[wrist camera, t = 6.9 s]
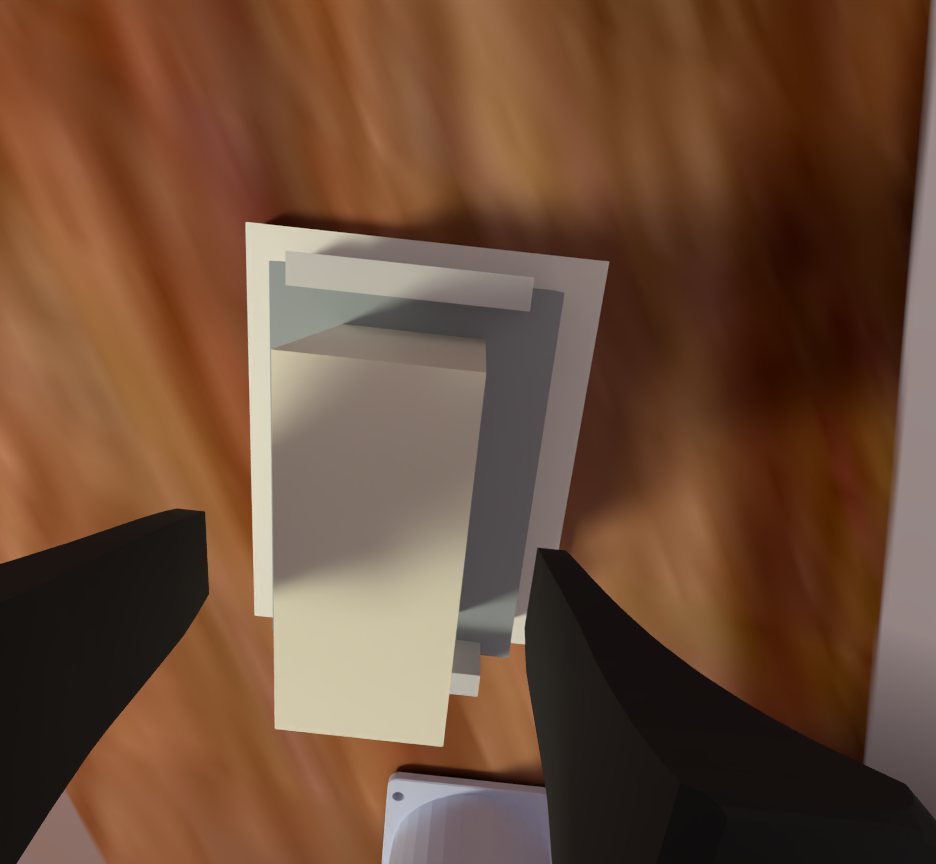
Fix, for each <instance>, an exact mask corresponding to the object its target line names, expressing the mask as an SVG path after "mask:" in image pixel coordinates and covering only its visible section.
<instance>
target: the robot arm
mask: <svg viewBox="0 0 936 864" xmlns="http://www.w3.org/2000/svg"><path fill="white" fill-rule="evenodd" d="M208 595H209V582H208V562H207V543H206V523H205V512H204V511H195V510H186V509H173V510H168V511H164V512H160V513H157V514H153V515H150V516H147V517H143V518H140V519H137V520H134V521H131V522H128V523H125V524H122V525H119V526H117V527H114V528H111V529H108V530H105V531H102V532H99V533H96V534H93V535H90V536H87V537H84V538H81V539H78V540H76V541H73V542H70V543H66V544H63V545H60V546H57V547H54V548H50V549H47V550H44V551H41V552H38V553H35V554H31V555H28V556H25V557H22V558H19V559H15V560H12V561H9V562H5V563H2V564H0V864H17V862H18V860H19V859H20V857H21V855H22V854H23V853H24V851H25V849H26V848H27V846H28V845H29V843H30V842H31V840H32V839H33V837H34V835H35V834H36V832H37V831H38V829H39V828H40V826H41V824H42V823H43V821H44V820H45V818H46V817H47V815H48V813H49V811H50V810H51V809H52V807H53V806H54V804H55V803H56V801H57V800H58V798H59V797H60V795H61V794H62V793H63V791H64V790H65V788H66V787H67V785H68V784H69V782H70V781H71V779H72V778H73V776H74V775H75V773H76V772H77V770H78V769H79V767H80V766H81V764H82V763H83V762H84V760H85V759H86V757H87V756H88V754H89V753H90V751H91V750H92V749H93V747H94V746H95V745H96V744H97V742H98V741H99V740H100V738H101V737H102V736H103V734H104V733H105V732H106V730H107V729H108V728H109V727H110V725H111V724H112V723H113V722H114V721H115V719H116V718H117V717H118V716H119V714H120V713H121V712H122V711H123V710H124V708H125V707H126V706H127V705H128V703H129V702H130V701H131V700H132V699H133V697H134V696H135V695H136V694H137V692H138V691H139V690H140V689H141V688H142V686H143V685H144V684H145V683H146V682H147V680H148V679H149V678H150V677H151V675H152V674H153V673H154V672H155V671H156V669H157V668H158V667H159V666H160V664H161V663H162V662H163V661H164V659H165V658H166V657H167V656H168V654H169V653H170V652H171V651H172V649H173V648H174V647H175V646H176V644H177V643H178V642H179V641H180V639H181V638H182V637H183V636H184V634H185V633H186V631H187V629H188V628H189V626H190V625H191V623H192V622H193V620H194V618H195V617H196V615H197V614H198V612H199V610H200V608H201V607H202V605H203V603H204V602H205V600H206V598H207V596H208ZM524 629H525V655H526V672H527V678H528V685H529V691H530V697H531V703H532V709H533V715H534V721H535V726H536V732H537V738H538V744H539V750H540V756H541V762H542V767H543V773H544V780H545V787H538V786H528V785H519V784H510V783H500V782H491V781H481V780H472V779H463V778H453V777H444V776H434V775H425V774H415V773H406V772H396V773H393V774H392V775H391V776H390V778H389V781H388V788H387V801H386V814H385V827H384V840H383V854H382V864H936V820H935V819H934V818H933V816H932V815H931V814H930V813H929V812H928V810H927V809H926V808H925V807H924V806H923V805H922V803H921V802H920V801H919V800H918V798H917V797H916V796H915V795H914V794H913V793H912V791H911V790H910V789H909V788H908V786H906V784H904V783H902V782H900V781H898V780H895V779H893V778H891V777H889V776H887V775H885V774H883V773H881V772H879V771H876V770H874V769H872V768H870V767H868V766H866V765H864V764H862V763H859V762H857V761H855V760H853V759H851V758H849V757H847V756H845V755H842V754H840V753H838V752H836V751H834V750H832V749H830V748H827V747H825V746H823V745H821V744H819V743H817V742H815V741H814V740H812V739H810V738H808V737H806V736H804V735H802V734H801V733H799V732H797V731H795V730H793V729H791V728H789V727H788V726H786V725H784V724H782V723H780V722H778V721H777V720H775V719H773V718H771V717H769V716H768V715H766V714H764V713H763V712H761V711H759V710H757V709H756V708H754V707H752V706H751V705H749V704H747V703H746V702H744V701H742V700H741V699H739V698H738V697H736V696H735V695H733V694H731V693H730V692H728V691H727V690H725V689H724V688H722V687H721V686H719V685H717V684H716V683H714V682H713V681H711V680H710V679H708V678H707V677H705V676H704V675H703V674H701V673H700V672H698V671H697V670H695V669H694V668H692V667H691V666H690V665H688V664H687V663H686V662H685V661H683V660H682V659H681V658H679V657H678V656H677V655H675V654H674V653H673V652H671V651H670V650H669V649H667V648H666V647H665V646H663V645H662V644H661V643H660V642H659V641H657V640H656V639H655V638H654V637H653V636H651V635H650V634H649V633H648V632H647V631H646V630H645V629H643V628H642V627H641V626H640V625H639V624H638V623H637V622H636V621H634V620H633V619H632V618H631V617H630V616H629V615H628V614H627V613H626V612H625V611H624V610H623V609H622V608H620V607H619V606H618V605H617V604H616V603H615V602H614V601H613V600H612V599H611V598H610V597H609V596H608V595H607V594H606V593H605V592H604V591H603V590H602V588H601V587H600V586H599V585H598V584H597V583H596V582H595V581H594V580H593V579H592V578H591V577H590V576H589V575H588V574H587V573H586V571H585V570H584V569H583V568H582V567H581V566H580V565H579V564H578V563H577V562H576V561H575V560H574V558H573V557H572V556H571V555H570V554H569V553H568V552H567V551H565V550H556V549H547V548H538V547H537V553H536V559H535V565H534V571H533V578H532V584H531V590H530V596H529V603H528V609H527V615H526V621H525V627H524Z"/></svg>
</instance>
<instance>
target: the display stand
mask: <svg viewBox="0 0 936 864" xmlns="http://www.w3.org/2000/svg"><path fill="white" fill-rule="evenodd" d="M246 265H247V308H248V351H249V394H250V437H251V480H252V523H253V566H254V609H255V615H256V616H265V617H273V633H274V598H273V496H272V394H271V349H274V348H277V347H279V346H282V345H285V344H288V343H291V342H293V341H296V340H299V339H302V338H304V337H307V336H310V335H313V334H316V333H318V332H321V331H324V330H327V329H330V328H332V327H335V326H338V325H341V324H347V325H356V326H365V327H374V328H384V329H393V330H402V331H411V332H420V333H430V334H439V335H448V336H457V337H466V338H476V339H485V340H486V380H485V389H484V397H483V406H482V415H481V423H480V432H479V440H478V449H477V458H476V466H475V475H474V484H473V492H472V501H471V509H470V518H469V527H468V535H467V544H466V553H465V561H464V570H463V578H462V587H461V596H460V604H459V613H458V622H457V630H456V639H455V647H454V656H453V665H452V673H451V682H450V690H449V694H457V695H467V696H476V697H477V696H478V688H479V681H480V655H486V656H495V657H505V658H508V656H509V650H510V643H517V644H525V629H524V627H525V621H526V615H527V609H528V603H529V596H530V590H531V584H532V578H533V571H534V565H535V559H536V553H537V547H538V548H547V549H556V550H559V545H560V539H561V534H562V528H563V522H564V517H565V511H566V505H567V499H568V494H569V488H570V482H571V477H572V471H573V465H574V460H575V454H576V448H577V443H578V437H579V431H580V426H581V420H582V414H583V409H584V403H585V397H586V392H587V386H588V380H589V375H590V369H591V363H592V358H593V352H594V346H595V341H596V335H597V329H598V323H599V318H600V312H601V306H602V301H603V295H604V289H605V284H606V278H607V272H608V267H609V261H600V260H591V259H581V258H572V257H563V256H554V255H545V254H536V253H526V252H517V251H508V250H499V249H490V248H480V247H471V246H462V245H453V244H444V243H434V242H425V241H416V240H407V239H398V238H388V237H379V236H370V235H361V234H352V233H342V232H333V231H324V230H315V229H306V228H296V227H287V226H278V225H269V224H260V223H250V222H246Z"/></svg>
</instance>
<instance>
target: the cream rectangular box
mask: <svg viewBox="0 0 936 864" xmlns="http://www.w3.org/2000/svg"><path fill="white" fill-rule="evenodd" d="M485 380H486V340H485V339H476V338H466V337H457V336H448V335H439V334H430V333H420V332H411V331H402V330H393V329H384V328H374V327H365V326H356V325H347V324H341V325H338V326H335V327H332V328H330V329H327V330H324V331H321V332H318V333H316V334H313V335H310V336H307V337H304V338H302V339H299V340H296V341H293V342H291V343H288V344H285V345H282V346H279V347H277V348H274V349H271V394H272V496H273V598H274V699H275V729H281V730H290V731H299V732H309V733H318V734H327V735H337V736H346V737H355V738H365V739H374V740H384V741H393V742H402V743H412V744H421V745H430V746H440V747H443V742H444V734H445V725H446V716H447V708H448V699H449V690H450V682H451V673H452V665H453V656H454V647H455V639H456V630H457V622H458V613H459V604H460V596H461V587H462V578H463V570H464V561H465V553H466V544H467V535H468V527H469V518H470V509H471V501H472V492H473V484H474V475H475V466H476V458H477V449H478V440H479V432H480V423H481V415H482V406H483V397H484V389H485Z"/></svg>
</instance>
